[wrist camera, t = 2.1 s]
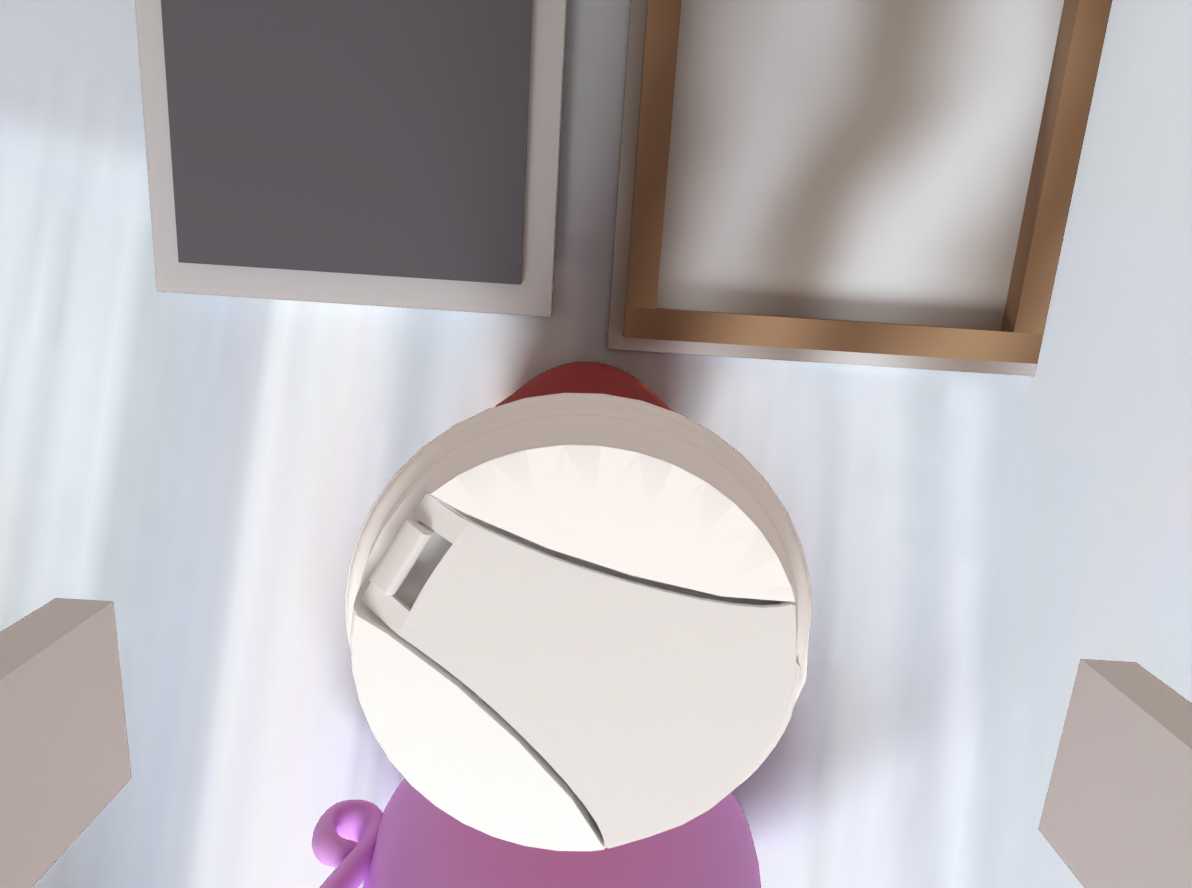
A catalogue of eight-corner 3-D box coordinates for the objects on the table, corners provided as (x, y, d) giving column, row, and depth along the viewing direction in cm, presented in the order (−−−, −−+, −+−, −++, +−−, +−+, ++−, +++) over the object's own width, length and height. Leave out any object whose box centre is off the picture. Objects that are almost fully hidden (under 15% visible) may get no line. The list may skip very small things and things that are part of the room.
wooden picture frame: (607, 348, 25) (607, 351, 24) (641, -152, 22) (643, -172, 21) (1031, 375, 26) (1048, 379, 25) (1131, -114, 22) (1156, -131, 21)
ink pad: (170, 290, 25) (149, 291, 24) (139, -152, 22) (113, -176, 21) (551, 315, 25) (549, 317, 24) (572, -119, 22) (571, -141, 21)
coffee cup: (428, 476, 26) (226, 733, 12) (548, 281, 25) (488, 298, 10) (621, 591, 27) (655, 957, 13) (748, 412, 26) (951, 597, 11)
